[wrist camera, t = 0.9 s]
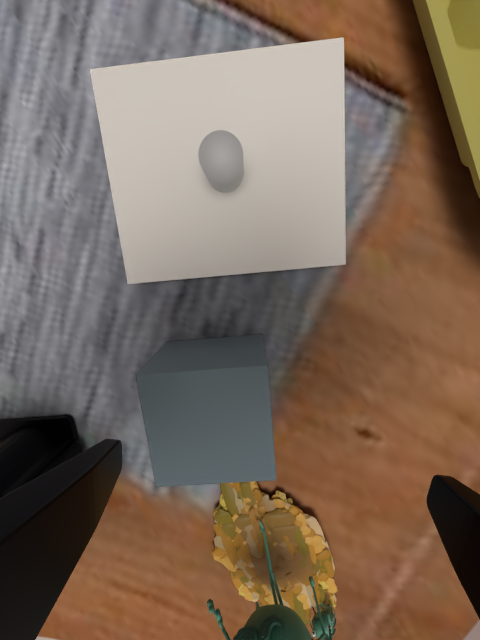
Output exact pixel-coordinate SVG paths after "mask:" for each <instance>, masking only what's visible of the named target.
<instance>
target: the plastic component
mask: <svg viewBox="0 0 480 640" xmlns="http://www.w3.org/2000/svg"><path fill="white" fill-rule="evenodd" d="M413 4H414V7H415V10H416V14H417V17H418V20H419V24H420V27H421V30H422V34H423V37H424V40H425V43H426V47H427V50H428V53H429V57H430V60H431V63H432V67H433V70H434V73H435V77H436V80H437V83H438V86H439V90H440V93H441V96H442V100H443V103H444V106H445V110H446V113H447V116H448V120H449V123H450V126H451V129H452V133H453V136H454V139H455V143H456V146H457V149H458V153H459V156H460V159H461V162H462V163H463V165H465V166H466V167H469V169H470V172H471V175H472V179H473V182H474V186H475V188H476V191H477V194H478V196H479V199H480V0H413Z"/></svg>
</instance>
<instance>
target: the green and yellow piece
mask: <svg viewBox="0 0 480 640" xmlns="http://www.w3.org/2000/svg"><path fill="white" fill-rule="evenodd" d="M220 488H221V491H222V493H221V496H220V502H219V503H220V504H219V505H218V506H217V507H216V508H215V512H214V519H215V520H214V525H213V528H214V530H215V532H216V536H215V537H214V543H215V549H214V550H213V551H212V555H214V560H216V561H218V562H221V563H222V564H223V565H224V566H225V567H226V568H228V569H229V571H230V573H231V576H232V580H233V583H234V585H235V587H236V588H237V589H238V590H239V594H240V595H242V596H244V597H245V599H247V600H248V601H253V602H256V601H257V600H258V599H259V598H260V601H261V604H263V605H264V606H263V605H262V607H259V604H258V602H256V611H254V612H253V614H252V615H251V616H250V618H249V619H248V621H247V623H246V625H245V626H244V627H243V628H241V629H240V630H239V631H238V633H237V635H236V636H235V637H234V638H233V640H234V639H235V640H313V639H312V638H311V636H310V634H309V631H308V629H307V627H306V625H307V624H308V623H309V625H311V623H310V617H311V611H310V608H311V606H312V608H313V607H316V608H317V610H318V613H316V612H315V610H314V608H313V610H314V613H315V615H314V617H313V620H312V624H313V628H312V626H311V628H312V632H311V635H312V637H313V638H315V637H316V636H317V637H318V639H316V640H332V638H333V635H334V633H335V629H334V626H335V624H336V618H335V615H334V614H335V607H336V601H337V597H336V595H335V593H336V592H337V591H338V589H337V587H336V585H335V582H334V579H333V576H334V571H335V567H334V564H333V560H332V556H331V552H330V549H329V546H328V544H327V541H325V538H324V535H323V532H322V529H321V527H320V525H319V523H318V521H317V520H316V518H314V517H312V516H310V515H308V514H304V513H303V511H302V510H300V509H299V507H298V506H294V505H293V500H292V499H291V498H288V499H287V500H286V494H284V493H282V492H279V491H277V490H276V494H275V495H273V497H271V498H269V495H268V494H265V493H263V492H261V490H259V486H258V484H257V482H256V481H253V482H235V483H220ZM330 577H331V578H330ZM207 606H208V607H209V612H210V613H214V615H215V617H216V619H217V621H218V624H219V626H220V627H221V629H222V632H223V634H224V635H225V637H226V639H227V640H231V639H230V638H229V636H228V634H227V632H226V630H225V628H224V626H223V620H222V616H221V613H220V610H219V609H218V608H217V609H216V611H215V609H214V604H213V601H212V600H211V599H209V600H208V601H207ZM320 611H321V612H320ZM334 622H335V623H334Z"/></svg>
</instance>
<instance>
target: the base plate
mask: <svg viewBox="0 0 480 640" xmlns="http://www.w3.org/2000/svg"><path fill="white" fill-rule="evenodd" d="M90 72H91V78H92V83H93V89H94V95H95V101H96V106H97V112H98V118H99V123H100V129H101V135H102V140H103V146H104V152H105V157H106V163H107V169H108V174H109V180H110V186H111V191H112V197H113V203H114V209H115V214H116V220H117V226H118V231H119V237H120V243H121V248H122V254H123V260H124V265H125V271H126V277H127V282H128V284H135V283H146V282H157V281H169V280H180V279H191V278H202V277H213V276H224V275H236V274H247V273H258V272H269V271H280V270H292V269H303V268H314V267H325V266H336V265H346V232H345V112H344V38H336V39H328V40H320V41H312V42H304V43H296V44H288V45H280V46H272V47H264V48H256V49H248V50H240V51H232V52H224V53H216V54H208V55H200V56H192V57H184V58H176V59H168V60H160V61H152V62H144V63H136V64H128V65H120V66H112V67H104V68H96V69H90Z"/></svg>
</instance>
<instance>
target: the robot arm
mask: <svg viewBox="0 0 480 640" xmlns="http://www.w3.org/2000/svg"><path fill="white" fill-rule="evenodd" d="M64 421H65V422H67V424H66V423H65V422H64ZM121 469H122V443H121V441H120V440H115V439H105V440H103V441H102V442H100V443H98V444H96V445H94V446H93V447H91V448H89V449H87V450H85V451H84V452H81V448H80V444H79V441H78V437H77V433H76V429H75V425H74V421H73V419H72V417H70V416H68V415H63V416H49V417H34V418H19V419H5V420H0V640H35V639H36V637H37V636H38V634H39V632H40V630H41V628H42V626H43V625H44V623H45V621H46V619H47V617H48V616H49V614H50V612H51V610H52V608H53V606H54V605H55V603H56V601H57V599H58V597H59V595H60V594H61V592H62V590H63V588H64V586H65V584H66V583H67V581H68V579H69V577H70V575H71V573H72V572H73V570H74V568H75V566H76V564H77V563H78V561H79V559H80V557H81V555H82V553H83V552H84V550H85V548H86V546H87V544H88V542H89V541H90V539H91V537H92V535H93V533H94V531H95V529H96V527H97V525H98V523H99V521H100V518H101V516H102V514H103V512H104V509H105V507H106V505H107V502H108V500H109V498H110V495H111V493H112V491H113V488H114V486H115V484H116V481H117V479H118V477H119V474H120V472H121ZM427 506H428V509H429V512H430V514H431V516H432V519H433V521H434V523H435V526H436V528H437V530H438V533H439V535H440V538H441V540H442V542H443V545H444V547H445V549H446V552H447V554H448V556H449V559H450V561H451V563H452V566H453V568H454V570H455V572H456V574H457V576H458V578H459V580H460V582H461V584H462V586H463V588H464V590H465V592H466V594H467V596H468V598H469V600H470V602H471V603H472V605H473V607H474V609H475V611H476V613H477V615H478V617H479V619H480V494H478V493H476V492H475V491H473V490H472V489H470V488H469V487H467V486H466V485H464V484H462V483H461V482H459V481H458V480H456V479H455V478H453V477H451V476H445V475H435V476H434V477H433V478H432V481H431V485H430V488H429V492H428V495H427Z"/></svg>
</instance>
